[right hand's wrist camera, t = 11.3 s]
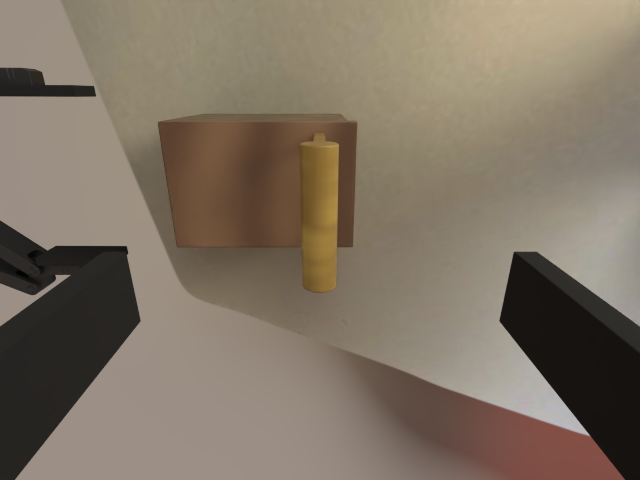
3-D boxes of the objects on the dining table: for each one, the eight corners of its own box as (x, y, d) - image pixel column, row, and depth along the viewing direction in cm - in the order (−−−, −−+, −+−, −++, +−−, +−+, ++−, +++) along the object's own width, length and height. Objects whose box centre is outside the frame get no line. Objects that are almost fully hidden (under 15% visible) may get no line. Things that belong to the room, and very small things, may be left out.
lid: (355, 120, 25) (373, 133, 17) (351, 242, 29) (364, 302, 20) (163, 120, 25) (87, 133, 17) (181, 242, 29) (125, 302, 20)
